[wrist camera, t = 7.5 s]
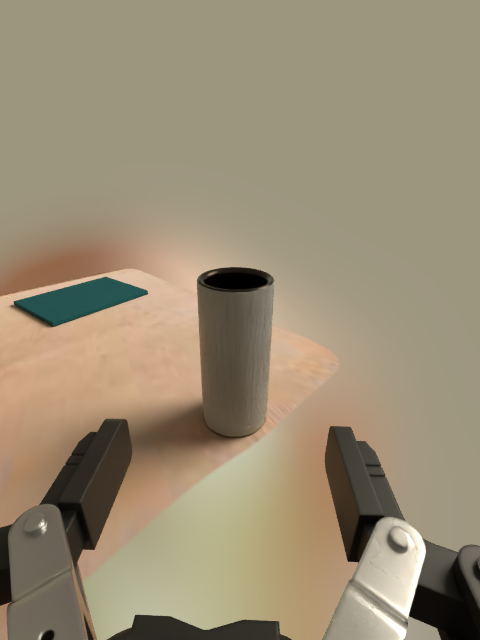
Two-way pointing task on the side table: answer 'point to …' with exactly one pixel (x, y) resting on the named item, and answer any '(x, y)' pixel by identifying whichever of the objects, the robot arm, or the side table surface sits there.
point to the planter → (235, 347)
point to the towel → (79, 300)
